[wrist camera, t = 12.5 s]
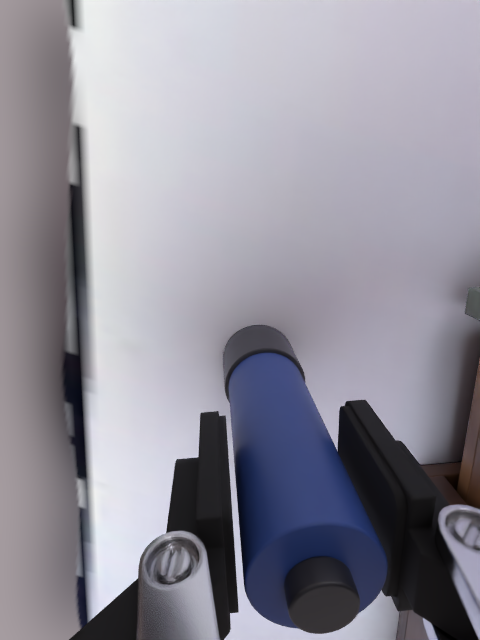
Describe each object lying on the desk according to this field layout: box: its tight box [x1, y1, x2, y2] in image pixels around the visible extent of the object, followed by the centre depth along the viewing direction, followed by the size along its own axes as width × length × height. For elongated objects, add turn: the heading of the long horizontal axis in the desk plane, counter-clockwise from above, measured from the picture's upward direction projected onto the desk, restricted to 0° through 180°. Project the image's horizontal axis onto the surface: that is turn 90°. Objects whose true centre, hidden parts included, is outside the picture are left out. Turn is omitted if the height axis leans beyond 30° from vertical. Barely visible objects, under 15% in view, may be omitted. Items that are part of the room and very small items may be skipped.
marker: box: [223, 325, 388, 634], centre depth 13 cm, size 3×3×12 cm
